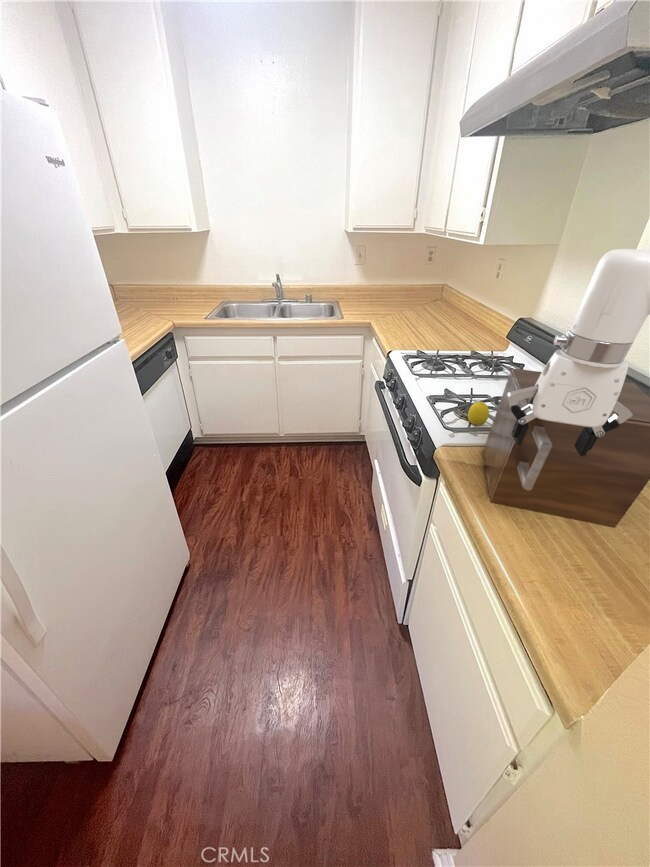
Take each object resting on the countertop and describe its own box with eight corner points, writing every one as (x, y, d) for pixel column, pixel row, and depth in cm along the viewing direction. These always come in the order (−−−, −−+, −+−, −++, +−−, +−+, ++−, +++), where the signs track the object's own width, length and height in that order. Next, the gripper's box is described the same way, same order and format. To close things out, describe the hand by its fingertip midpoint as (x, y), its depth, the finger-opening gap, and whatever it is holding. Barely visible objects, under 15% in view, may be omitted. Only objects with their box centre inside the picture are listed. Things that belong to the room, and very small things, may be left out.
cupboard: (612, 523, 72) (681, 426, 58) (489, 499, 77) (527, 404, 64) (584, 470, 86) (634, 383, 73) (482, 453, 91) (511, 368, 78)
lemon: (488, 430, 101) (496, 406, 97) (470, 431, 100) (478, 407, 96) (478, 420, 106) (485, 396, 101) (461, 421, 105) (468, 398, 100)
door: (629, 554, 65) (710, 454, 52) (493, 525, 70) (536, 427, 57) (613, 524, 71) (681, 427, 58) (489, 499, 77) (527, 405, 64)
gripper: (533, 348, 48) (495, 448, 57) (680, 366, 44) (614, 469, 54) (523, 333, 54) (490, 425, 63) (652, 347, 50) (596, 443, 60)
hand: (547, 446), depth 58 cm, fingers open, 9 cm apart
